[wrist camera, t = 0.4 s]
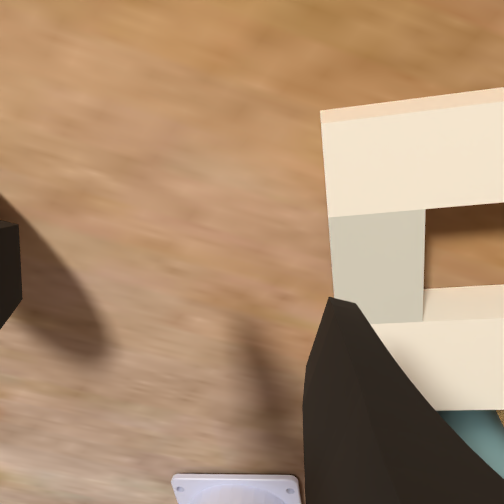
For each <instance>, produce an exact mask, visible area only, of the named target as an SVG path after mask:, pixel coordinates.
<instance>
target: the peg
mask: <svg viewBox="0 0 504 504" xmlns="http://www.w3.org/2000/svg"><path fill="white" fill-rule="evenodd" d="M436 412H437V413H438V414H439V415H440V416H441V417H442V418H443V419H444V420H445V422H446V423H447V424H448V425H449V426H450V427H451V428H452V429H453V430H454V431H455V432H456V433H457V434H458V435H459V436H460V437H461V438H462V439H463V440H464V441H465V443H466V444H467V445H468V446H469V447H470V448H471V449H472V450H473V451H474V452H475V453H477V454H478V455H479V456H480V457H481V458H482V459H483V460H484V461H485V462H486V463H487V464H488V465H489V466H490V467H491V468H492V469H493V470H495V471H496V472H497V473H498V474H499V475H500V476H501V477H502V478H503V479H504V427H503V425H502V423H501V421H500V418H499V416H498V414H497V412H496V410H442V411H436Z"/></svg>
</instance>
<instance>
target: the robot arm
mask: <svg viewBox="0 0 504 504" xmlns="http://www.w3.org/2000/svg"><path fill="white" fill-rule="evenodd" d="M21 300H22V281H21V262H20V244H19V226H18V224H14V223H10V222H5V221H1V220H0V329H1V328H2V326H3V325H4V324H5V322H6V321H7V320H8V318H9V317H10V316H11V314H12V313H13V311H14V310H15V309H16V307H17V306H18V304H19V303H20V302H21ZM303 440H304V469H305V497H306V504H504V479H503V478H502V477H501V476H500V475H499V474H498V473H497V472H496V471H495V470H493V469H492V468H491V467H490V466H489V465H488V464H487V463H486V462H485V461H484V460H483V459H482V458H481V457H480V456H479V455H478V454H477V453H475V452H474V451H473V450H472V449H471V448H470V447H469V446H468V445H467V444H466V443H465V441H464V440H463V439H462V438H461V437H460V436H459V435H458V434H457V433H456V432H455V431H454V430H453V429H452V428H451V427H450V426H449V425H448V424H447V423H446V422H445V420H444V419H443V418H442V417H441V416H440V415H439V414H438V413H437V412H436V411H435V409H434V408H433V407H432V406H431V405H430V404H429V402H428V401H427V400H426V399H425V398H424V396H423V395H422V394H421V393H420V392H419V390H418V389H417V388H416V387H415V385H414V384H413V383H412V382H411V381H410V379H409V378H408V377H407V375H406V374H405V373H404V371H403V370H402V369H401V367H400V366H399V365H398V363H397V362H396V361H395V359H394V358H393V357H392V355H391V354H390V352H389V351H388V350H387V348H386V347H385V345H384V344H383V342H382V341H381V340H380V338H379V337H378V335H377V334H376V332H375V331H374V329H373V328H372V326H371V325H370V323H369V322H368V320H367V319H366V317H365V316H364V314H363V313H362V311H361V310H360V308H359V307H358V305H357V304H356V303H353V302H349V301H345V300H340V299H336V298H332V297H329V298H328V301H327V304H326V307H325V310H324V313H323V316H322V320H321V323H320V326H319V329H318V332H317V335H316V338H315V341H314V344H313V347H312V350H311V353H310V356H309V359H308V362H307V365H306V373H305V383H304V394H303ZM171 484H172V487H173V490H174V493H175V496H176V499H177V502H178V504H301V497H300V490H299V484H298V479H297V478H296V477H295V476H293V475H257V474H175V475H173V477H172V480H171Z"/></svg>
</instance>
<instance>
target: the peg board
mask: <svg viewBox="0 0 504 504" xmlns="http://www.w3.org/2000/svg"><path fill="white" fill-rule="evenodd" d="M320 116H321V130H322V143H323V156H324V169H325V182H326V195H327V208H328V221H329V234H330V248H331V261H332V274H333V287H334V298H336V299H340V300H345V301H349V302H353V303H356V304H357V305H358V307H359V308H360V310H361V311H362V313H363V314H364V316H365V317H366V319H367V320H368V322H369V323H370V325H371V326H372V328H373V329H374V331H375V332H376V334H377V335H378V337H379V338H380V340H381V341H382V342H383V344H384V345H385V347H386V348H387V350H388V351H389V352H390V354H391V355H392V357H393V358H394V359H395V361H396V362H397V363H398V365H399V366H400V367H401V369H402V370H403V371H404V373H405V374H406V375H407V377H408V378H409V379H410V381H411V382H412V383H413V384H414V385H415V387H416V388H417V389H418V390H419V392H420V393H421V394H422V395H423V396H424V398H425V399H426V400H427V401H428V402H429V404H430V405H431V406H432V407H433V408H434V409H435V411H442V410H504V284H502V285H485V286H468V287H450V288H433V289H423V287H424V248H425V209H432V208H444V207H456V206H467V205H479V204H490V203H502V202H504V87H502V88H494V89H486V90H478V91H470V92H462V93H455V94H447V95H439V96H431V97H423V98H415V99H408V100H400V101H392V102H384V103H376V104H368V105H361V106H353V107H345V108H337V109H329V110H321V111H320Z"/></svg>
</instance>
